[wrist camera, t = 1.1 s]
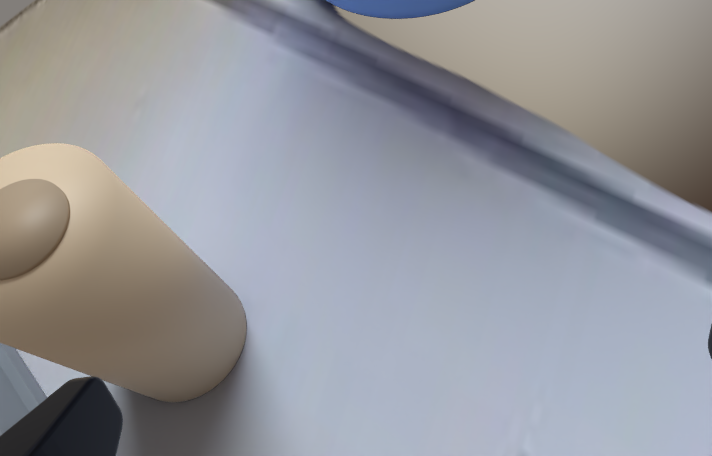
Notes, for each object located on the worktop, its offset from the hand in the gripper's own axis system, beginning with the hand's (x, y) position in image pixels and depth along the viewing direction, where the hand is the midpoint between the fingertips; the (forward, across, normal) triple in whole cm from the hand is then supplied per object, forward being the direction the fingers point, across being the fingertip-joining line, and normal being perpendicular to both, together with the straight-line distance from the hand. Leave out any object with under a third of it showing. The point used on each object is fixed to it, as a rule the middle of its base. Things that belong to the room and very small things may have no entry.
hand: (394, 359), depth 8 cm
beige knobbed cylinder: (+13, +11, +10) cm, 20 cm away
